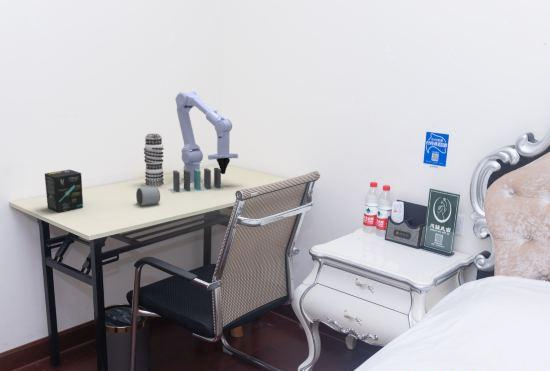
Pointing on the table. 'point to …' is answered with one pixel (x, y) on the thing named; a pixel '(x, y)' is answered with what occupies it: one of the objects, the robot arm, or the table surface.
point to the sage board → (195, 189)
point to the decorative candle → (153, 160)
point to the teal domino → (197, 179)
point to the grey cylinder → (147, 196)
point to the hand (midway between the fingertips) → (223, 173)
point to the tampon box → (64, 190)
